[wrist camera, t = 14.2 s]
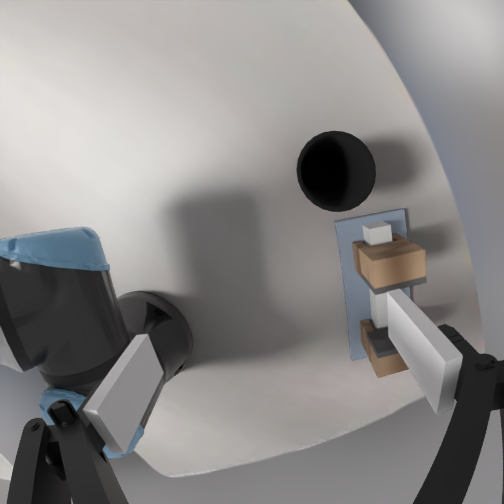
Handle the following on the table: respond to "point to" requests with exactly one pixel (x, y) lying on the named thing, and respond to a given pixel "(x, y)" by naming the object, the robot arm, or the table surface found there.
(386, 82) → the table surface
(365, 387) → the table surface
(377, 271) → the fixed jaw
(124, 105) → the table surface
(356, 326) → the rail
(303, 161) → the cup
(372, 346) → the two-tone tabbed box
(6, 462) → the table surface
